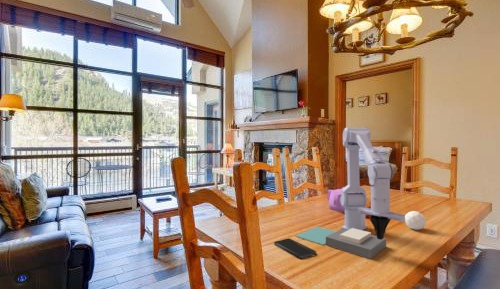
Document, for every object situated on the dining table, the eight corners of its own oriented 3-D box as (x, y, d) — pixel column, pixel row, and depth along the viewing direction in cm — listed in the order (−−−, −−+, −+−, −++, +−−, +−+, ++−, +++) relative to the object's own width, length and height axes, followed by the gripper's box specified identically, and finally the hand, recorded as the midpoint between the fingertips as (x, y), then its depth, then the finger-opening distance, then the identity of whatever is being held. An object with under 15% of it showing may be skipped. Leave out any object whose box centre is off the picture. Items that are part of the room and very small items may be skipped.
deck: (343, 235, 105) (343, 227, 105) (386, 246, 93) (386, 238, 93) (325, 244, 95) (325, 236, 95) (370, 259, 84) (370, 249, 84)
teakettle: (325, 205, 154) (325, 185, 153) (354, 205, 153) (354, 185, 153) (334, 213, 137) (334, 190, 136) (366, 213, 136) (366, 190, 136)
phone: (300, 257, 84) (272, 242, 96) (300, 260, 84) (272, 245, 96) (318, 251, 88) (289, 237, 100) (318, 255, 88) (289, 240, 100)
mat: (316, 227, 115) (316, 226, 115) (343, 234, 106) (343, 233, 106) (295, 236, 104) (295, 235, 104) (323, 245, 95) (323, 244, 95)
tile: (352, 231, 100) (352, 228, 100) (371, 236, 95) (371, 232, 95) (339, 238, 93) (339, 234, 93) (359, 244, 88) (359, 239, 88)
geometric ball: (409, 235, 112) (397, 218, 116) (422, 226, 115) (409, 210, 118) (421, 231, 106) (407, 214, 109) (434, 222, 108) (420, 205, 111)
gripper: (354, 197, 90) (354, 235, 91) (400, 204, 80) (400, 247, 80) (362, 194, 95) (362, 231, 95) (407, 200, 85) (407, 241, 85)
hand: (380, 238), depth 88 cm, fingers closed
